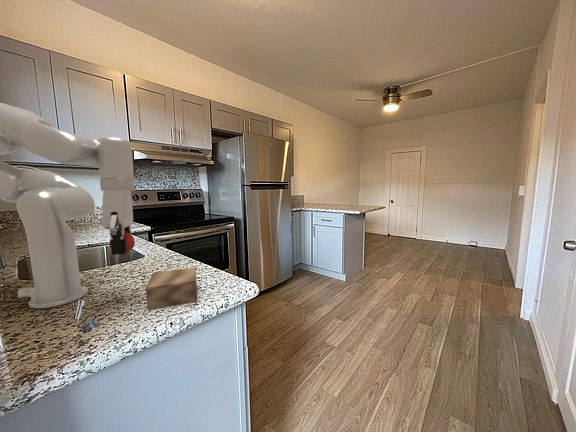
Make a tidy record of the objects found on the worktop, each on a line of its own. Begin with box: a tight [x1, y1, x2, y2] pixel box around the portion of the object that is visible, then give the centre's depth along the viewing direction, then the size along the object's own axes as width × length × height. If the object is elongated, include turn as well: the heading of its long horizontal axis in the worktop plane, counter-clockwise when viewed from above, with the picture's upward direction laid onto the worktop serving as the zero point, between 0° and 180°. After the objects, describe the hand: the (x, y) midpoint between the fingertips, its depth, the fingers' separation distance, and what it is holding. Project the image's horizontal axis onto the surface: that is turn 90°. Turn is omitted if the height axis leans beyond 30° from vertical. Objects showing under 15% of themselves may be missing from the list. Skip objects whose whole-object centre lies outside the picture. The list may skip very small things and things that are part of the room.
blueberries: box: [71, 318, 101, 334], centre depth 56 cm, size 7×8×2 cm
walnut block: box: [145, 266, 198, 311], centre depth 71 cm, size 12×12×6 cm
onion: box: [108, 228, 136, 257], centre depth 68 cm, size 6×6×8 cm
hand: (122, 250), depth 68 cm, fingers closed on onion, 5 cm apart
